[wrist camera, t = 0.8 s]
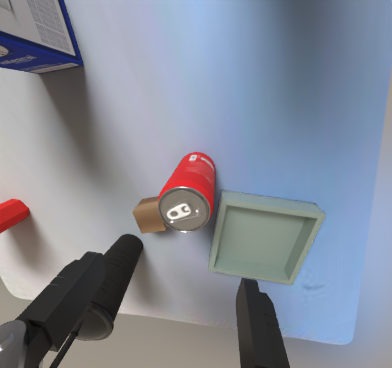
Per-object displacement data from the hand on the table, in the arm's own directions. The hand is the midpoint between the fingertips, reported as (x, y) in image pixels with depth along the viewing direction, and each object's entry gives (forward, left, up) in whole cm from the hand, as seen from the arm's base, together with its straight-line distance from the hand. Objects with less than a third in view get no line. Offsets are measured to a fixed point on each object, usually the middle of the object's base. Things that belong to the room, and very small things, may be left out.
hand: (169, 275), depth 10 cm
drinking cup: (+17, -11, -19) cm, 27 cm away
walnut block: (+8, -6, -18) cm, 21 cm away
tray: (+10, +11, -18) cm, 23 cm away
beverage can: (0, 0, -19) cm, 19 cm away
